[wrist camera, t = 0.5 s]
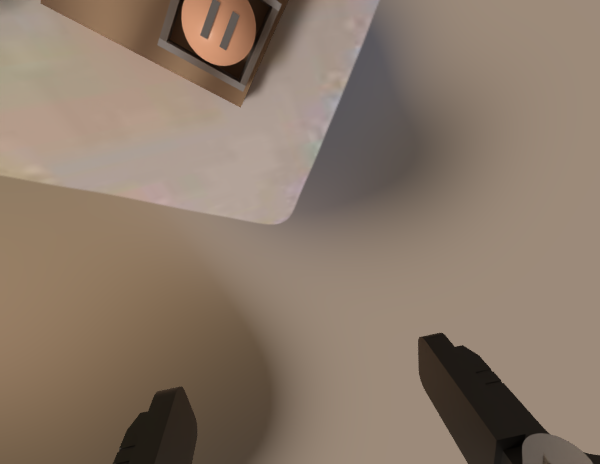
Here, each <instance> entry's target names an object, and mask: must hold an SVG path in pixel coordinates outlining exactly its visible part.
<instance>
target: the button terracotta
mask: <svg viewBox="0 0 600 464" xmlns="http://www.w3.org/2000/svg"><path fill="white" fill-rule="evenodd" d="M182 26H183V31H184V34H185V37H186V39H187V41H188V43H189V44H190V46H191V47H192V49H193V50H194V51H195V52H196V53H197V54H198V55H199V56H200V57H201V58H203V59H204V60H206V61H207V62H209V63H212V64H215V65H220V66H228V65H233V64H235V63H238V62H239V61H241V60H242V59H243V58H245V57H246V55H247V54H248V53H249V51H250V50H251V48H252V46H253V43H254V40H255V35H256V22H255V17H254V13H253V10H252V8H251V5H250V3H249V2H248V0H184V3H183V7H182Z"/></svg>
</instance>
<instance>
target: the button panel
mask: <svg viewBox="0 0 600 464" xmlns="http://www.w3.org/2000/svg"><path fill="white" fill-rule="evenodd" d="M248 2H249V3H250V5H251V8H252V10H253V13H254V17H255V22H256V35H255V40H254V43H253V46H252V48H251V50H250V51H249V53H248V54H247V55H246V57H245V58H243V59H242V60H241V61H239V62H238V63H235V64H233V65H228V66H220V65H215V64H212V63H209V62H207V61H206V60H204V59H203V58H201V57H200V56H199V55H198V54H197V53H196V52H195V51H194V50H193V49H192V47H191V46H190V44H189V43H188V41H187V39H186V37H185V34H184V31H183V26H182V7H183V3H184V0H41V4H43V5H45V6H47V7H49V8H51V9H53V10H54V11H56V12H58V13H60V14H62V15H64V16H66V17H68V18H70V19H72V20H74V21H76V22H77V23H79V24H81V25H83V26H85V27H87V28H89V29H91V30H93V31H95V32H97V33H99V34H101V35H102V36H104V37H106V38H108V39H110V40H112V41H114V42H116V43H118V44H120V45H122V46H124V47H126V48H127V49H129V50H131V51H133V52H135V53H137V54H139V55H141V56H143V57H145V58H147V59H149V60H151V61H152V62H154V63H156V64H158V65H160V66H162V67H164V68H166V69H168V70H170V71H172V72H174V73H175V74H177V75H179V76H181V77H183V78H185V79H187V80H189V81H191V82H193V83H195V84H197V85H199V86H200V87H202V88H204V89H206V90H208V91H210V92H212V93H214V94H216V95H218V96H220V97H222V98H224V99H225V100H227V101H229V102H231V103H233V104H235V105H237V106H239V107H241V105H242V103H243V101H244V98H245V96H246V94H247V92H248V90H249V87H250V85H251V83H252V81H253V78H254V76H255V74H256V72H257V69H258V67H259V65H260V63H261V60H262V58H263V56H264V54H265V51H266V49H267V47H268V45H269V42H270V40H271V38H272V36H273V34H274V31H275V29H276V27H277V25H278V22H279V20H280V18H281V16H282V13H283V11H284V9H285V7H286V4H287V2H288V0H248Z"/></svg>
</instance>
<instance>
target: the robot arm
mask: <svg viewBox="0 0 600 464" xmlns="http://www.w3.org/2000/svg"><path fill="white" fill-rule="evenodd" d="M418 355H419V375H420V379H421V382H422V385H423V387H424V389H425V391H426V393H427V394H428V396H429V398H430V400H431V401H432V403H433V405H434V406H435V408H436V410H437V412H438V413H439V415H440V417H441V418H442V420H443V422H444V423H445V425H446V427H447V428H448V430H449V432H450V434H451V435H452V437H453V439H454V440H455V442H456V444H457V446H458V447H459V449H460V451H461V452H462V454H463V456H464V457H465V459H466V461H467V463H468V464H600V455H593V454H588V453H584V452H582V451H581V450H580V449H579V448H577V447H576V446H575V445H573V444H571V443H570V442H568V441H566V440H564V439H562V438H560V437H557V436H554V435H551V434H549V433H548V432H547V431H546V430H545V429H544V428H543V427H542V426H541V425H540V424H539V422H538V421H537V420H536V419H535V418H534V417H533V416H532V415H531V413H530V412H529V411H528V410H527V409H526V408H525V407H524V406H523V404H522V403H521V402H520V401H519V400H518V399H517V398H516V397H515V395H514V394H513V393H512V392H511V391H510V390H509V389H508V388H507V387H506V386H505V384H504V383H502V382H501V380H500V379H499V378H498V376H497V375H496V374H495V373H494V372H492V371H491V369H490V368H489V366H488V365H487V364H486V363H485V362H484V361H483V360H482V359H481V357H480V356H479V355H477V354H476V353H474V352H472V351H471V350H469V349H467V348H466V347H464V346H463V345H462V346H457V347H454V346H453V344H452V343H451V342H450V341H449V339H448V338H447V337H446V336H445V335H444V334H443V333H437V334H432V335H428V336H423V337H419V340H418ZM196 440H197V422H196V418H195V415H194V413H193V410H192V408H191V405H190V403H189V400H188V398H187V395H186V393H185V390H184V389H183V387H176V388H171V389H167V390H162V391H158V392H157V393H156V394H155V395H154V398H153V400H152V403H151V406H150V408H149V411H148V412H143V413H140V414H139V415H138V417H137V418H136V419H135V421H134V422H133V423H132V425H131V426H130V427H129V428H128V430H127V432H126V434H125V436H124V439H123V441H122V443H121V446H120V448H119V452H118V453H117V455H116V458H115V460H114V462H113V464H192V460H193V455H194V450H195V444H196Z"/></svg>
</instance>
